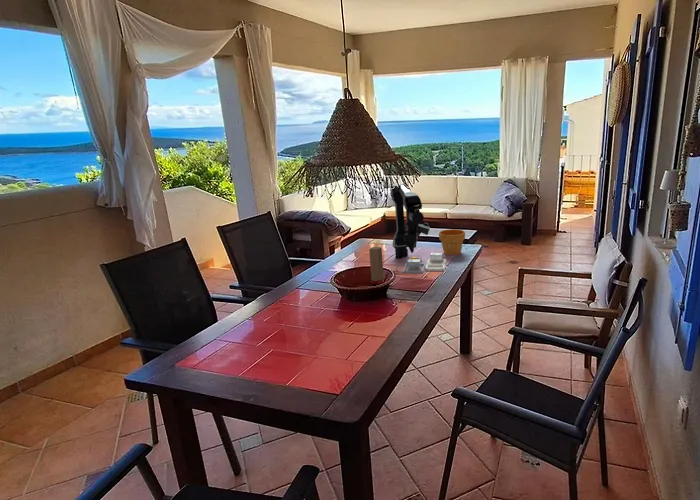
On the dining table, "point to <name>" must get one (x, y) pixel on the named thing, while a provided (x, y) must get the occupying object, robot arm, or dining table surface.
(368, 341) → the dining table surface
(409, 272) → the tray
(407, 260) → the grey square frame
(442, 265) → the white divided tray
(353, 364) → the dining table surface
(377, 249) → the wooden block
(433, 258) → the block
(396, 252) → the robot arm
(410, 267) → the billet
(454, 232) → the flower pot
